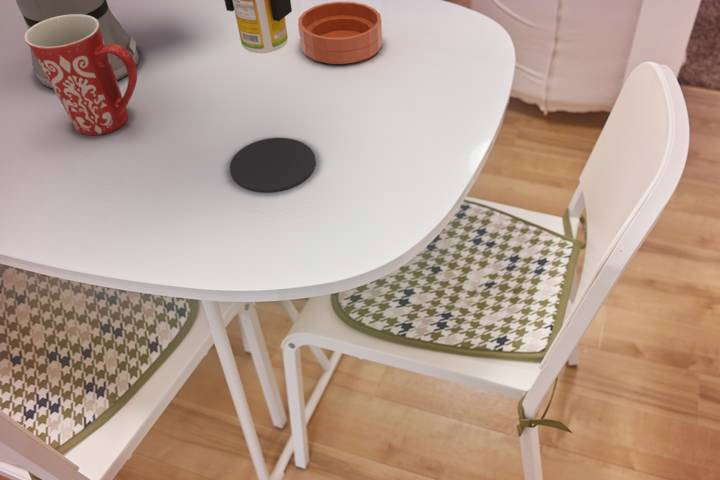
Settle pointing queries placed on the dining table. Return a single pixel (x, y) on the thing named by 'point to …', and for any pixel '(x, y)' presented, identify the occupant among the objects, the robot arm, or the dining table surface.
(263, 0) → the supplement bottle
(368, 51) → the bowl
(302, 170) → the coaster
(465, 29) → the dining table surface
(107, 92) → the mug
